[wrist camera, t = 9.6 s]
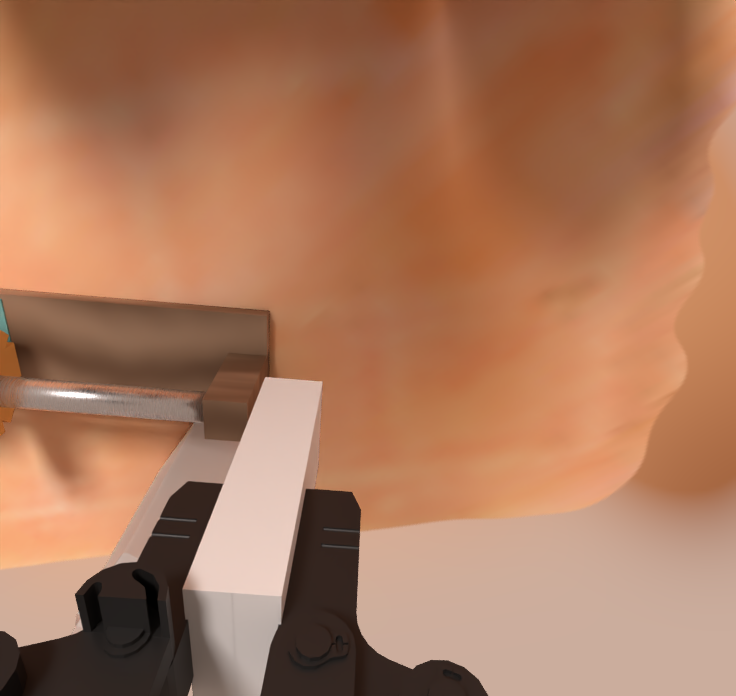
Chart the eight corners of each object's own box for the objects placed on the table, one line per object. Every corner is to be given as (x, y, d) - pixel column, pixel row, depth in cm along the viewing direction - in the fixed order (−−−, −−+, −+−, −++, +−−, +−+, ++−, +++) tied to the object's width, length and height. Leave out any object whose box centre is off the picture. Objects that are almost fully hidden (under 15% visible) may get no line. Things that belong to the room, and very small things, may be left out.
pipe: (-105, 357, 38) (-136, 374, 36) (235, 384, 38) (225, 403, 36) (-94, 388, 39) (-124, 408, 37) (235, 414, 40) (227, 435, 37)
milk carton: (198, 415, 46) (92, 610, 29) (269, 456, 48) (207, 662, 31) (160, 467, 49) (41, 675, 31) (228, 504, 50) (151, 720, 33)
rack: (-84, 281, 41) (-183, 323, 34) (269, 311, 42) (246, 358, 34) (-50, 393, 45) (-131, 451, 38) (269, 419, 46) (248, 480, 39)
